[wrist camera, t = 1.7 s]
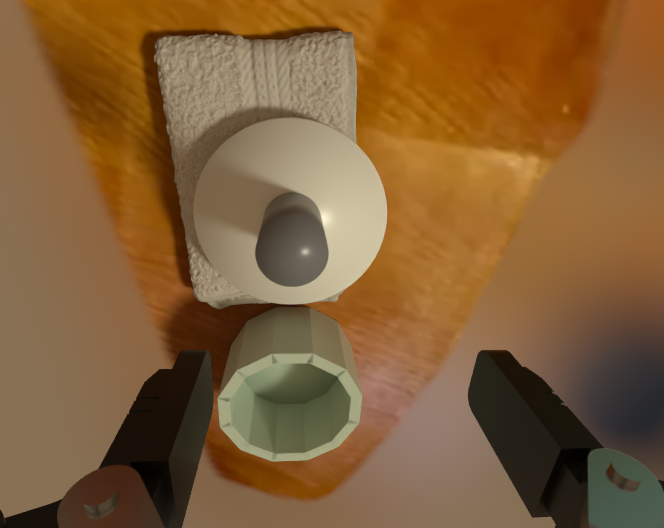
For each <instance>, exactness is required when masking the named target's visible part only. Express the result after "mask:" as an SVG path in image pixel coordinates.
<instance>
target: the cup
mask: <svg viewBox="0 0 664 528" xmlns="http://www.w3.org/2000/svg"><path fill="white" fill-rule="evenodd" d="M361 403H362V391H361V387H360V383H359V378H358V374H357V369H356V365H355V361H354V356H353V352H352V347H351V344H350V342H349V341H348V339H347V337H346V335H345V334H344V332H343V330H342V329H341V327H340V325H339V324H338V322H337V321H335V320H334V319H332V318H330V317H328V316H326V315H324V314H322V313H320V312H318V311H316V310H314V309H312V308H310V307H275V308H273V309H271V310H269V311H267V312H264V313H262V314H260V315H258V316H256V317H254V318H252V319H250V320H248V321H247V322H246V323H245V325H244V326H243V328H242V329H241V331H240V332H239V334H238V335H237V337H236V338H235V340H234V341H233V343H232V344H231V348H230V352H229V356H228V360H227V363H226V367H225V371H224V375H223V379H222V383H221V387H220V391H219V395H218V408H219V421H220V428H221V429H222V430H223V431H224V432H225V433H226V434H227V435H228V437H229V438H230V439H231V440H232V441H233V442H234V443H235V444H236V445H237V447H238V448H239V449H240V450H242V451H245V452H248V453H250V454H253V455H256V456H259V457H262V458H264V459H267V460H270V461H297V460H309V459H311V458H314V457H316V456H318V455H320V454H323V453H325V452H327V451H330V450H332V449H334V448H337V447H339V446H340V445H341V443H342V442H343V441H344V440H345V439H346V438H347V437H348V435H349V434H350V433H351V432H352V431H353V430H354V429H355V427H356V426H357V425H358V424H359V419H360V411H361Z"/></svg>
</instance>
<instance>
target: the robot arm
mask: <svg viewBox="0 0 664 528" xmlns="http://www.w3.org/2000/svg"><path fill="white" fill-rule="evenodd" d="M213 397H214V394H213V380H212V368H211V356H210V352H209V350H182V351H181V352H180V353H179V355H178V357H177V359H176V362H175V364H174V366H173V368H172V369H159V370H158V371H157V372H156V373H155V374H153V375H152V376H151V377H150V378H149V379H148V380H147V381H146V382H144V384H143V386H142V388H141V390H140V392H139V394H138V396H137V397H136V401H134V403H133V405H132V407H131V409H130V411H129V414H127V416H126V418H125V420H124V422H123V424H122V426H121V428H120V429H119V431H118V433H117V435H116V437H115V439H114V441H113V443H112V444H111V446H110V448H109V450H108V452H107V454H106V456H105V458H104V460H103V461H102V463H101V465H100V467H99V468H98V470H95V471H93V472H91V473H89V474H88V475H86V476H84V477H83V478H82V479H80V480H79V481H78V482H76V483H75V485H73V486H72V487H71V488H70V489H69V490H68V492H67V493H66V494H65V496H64V497H63V499H61V500H59V501H57V502H54V503H51V504H48V505H45V506H42V507H39V508H36V509H32V510H29V511H26V512H23V513H20V514H17V515H13V516H10V517H7V518H4V516H3V513H2V512H1V510H0V528H182V525H183V521H184V517H185V514H186V510H187V506H188V502H189V498H190V495H191V491H192V487H193V483H194V479H195V476H196V472H197V468H198V464H199V461H200V457H201V453H202V449H203V445H204V442H205V438H206V434H207V430H208V427H209V423H210V419H211V415H212V409H213ZM468 401H469V405H470V408H471V410H472V412H473V414H474V416H475V418H476V419H477V421H478V423H479V425H480V427H481V428H482V430H483V432H484V434H485V435H486V437H487V439H488V441H489V442H490V444H491V446H492V448H493V450H494V451H495V453H496V455H497V456H498V458H499V460H500V462H501V463H502V465H503V467H504V469H505V470H506V472H507V474H508V476H509V478H510V479H511V481H512V483H513V485H514V486H515V488H516V490H517V492H518V493H519V495H520V497H521V499H522V500H523V502H524V504H525V506H526V508H527V509H528V511H529V513H530V514H531V516H532V518H533V517H552V519H553V520H554V522H555V524H556V526H555V528H664V481H661V480H657V478H656V477H655V476H654V475H653V474H652V473H651V472H650V471H649V470H648V469H647V468H646V467H645V466H643V465H642V464H641V463H639V462H638V461H636V460H635V459H633V458H631V457H630V456H628V455H626V454H623V453H621V452H618V451H616V450H611V449H606V448H604V447H603V446H602V445H601V444H600V443H599V442H598V441H597V439H595V437H594V436H593V435H592V434H591V433H590V432H589V431H588V430H587V428H586V427H585V426H584V425H583V424H582V423H581V422H580V421H579V419H578V418H577V417H576V416H575V415H574V414H573V412H572V411H571V410H570V409H569V408H568V407H567V406H565V405H564V402H563V401H562V400H561V399H560V398H559V397H558V396H557V395H555V394H554V391H553V390H552V389H551V388H550V387H549V386H548V384H547V383H546V382H545V381H544V380H543V379H542V378H541V377H539V376H538V375H536V374H535V373H534V372H532V371H531V370H529V369H528V368H526V367H522V366H521V365H520V364H519V362H518V361H517V360H516V359H515V358H514V357H513V355H512V354H511V353H510V352H509V351H507V350H482V351H480V352H479V353H478V355H477V359H476V363H475V367H474V370H473V375H472V378H471V382H470V386H469V390H468Z"/></svg>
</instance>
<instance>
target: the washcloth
mask: <svg viewBox="0 0 664 528" xmlns="http://www.w3.org/2000/svg"><path fill="white" fill-rule="evenodd" d="M155 49H156V50H155V51H156V54H155V55H154V62H156V63H157V64H158V68H157V72H158V78H159V85H160V88H161V93H162V98H163V101H164V103H163V111H164V114H165V116H166V119H167V123H166V129H167V133H168V135H169V138H170V145H171V148H172V155H171V157H172V159H173V162H174V166H175V172H174V173H175V176H174V182H175V183H176V184H177V189H178V195H179V197H180V200H179V204H180V206H181V213H180V214H181V218H182V222H183V224H184V228H185V241H186V246H187V248H188V250H187V251H188V254H189V256H188V260H189V264H190V269H189V272H190V273H191V281H192V282H193V293H195V297H196V298H197V300H198V301H201V302H207V303H208V304H209V305H211V306H213V307H215V308H217V309H223V308H224V307H228V306H230V305H239V304H249V303H254V304H256V303H258V304H261V303H272V302H267V301H264V300H261V299H257V298H255V297H253V296H250V295H248V294H246V293H244V292H242V291H241V290H239V289H237V288H236V287H234V286H233V285H232V284H230V283H229V282H228V281H226V280H225V279H224V278H223V277H222V276H221V275H220V274H219V273H218V272H217V271H216V269H215V268H214V267H213V266H212V264H211V263H210V262H209V260H208V258H207V257H206V255H205V254H204V252H203V249H202V247H201V245H200V243H199V240H198V237H197V233H196V230H195V224H194V213H193V204H194V196H195V190H196V187H197V183H198V180H199V177H200V175H201V173H202V171H203V168H204V167H205V165H206V164H207V162H208V160H209V159H210V157H211V156H212V155H213V154H214V152H215V151H216V150H217V149H218V148H219V147H220V146H221V145H222V144H223V143H224V142H225V141H226V140H228V139H229V138H230V137H232V136H233V135H235V134H236V133H238V132H239V131H241V130H242V129H244V128H246V127H249V126H251V125H253V124H255V123H258V122H262V121H265V120H268V119H275V118H291V117H295V118H303V119H309V120H313V121H316V122H320V123H323V124H325V125H327V126H330V127H332V128H334V129H336V130H337V131H339V132H340V133H342V134H344V135H345V136H347V137H348V138H349V139H350V140H351V141H353V142H354V143H355V144H356V98H357V84H356V77H357V72H356V59H355V53H354V38H353V35H352V32H347V33H344V32H342V31H340V30H339V31H332V32H324V33H319V32H313V33H306V34H302V35H299V36H292V37H289V38H288V39H281V40H273V39H266V40H262V39H254V40H249V39H244V38H243V37H242V36H240V35H234V36H232V35H217V34H216V33H215V34H214V35H210V34H203V35H192V36H188V37H187V36H180V35H177V36H170V35H166V36H163V37H161V38H159V39H157V41H156V43H155ZM343 291H344V290H343ZM343 291H341V292H339V293H337V294H335V295H333V296H331V297H328V298H326V299H323V300H319V301H333V302H334V301H337V300H338V295H340V294H342V293H343ZM316 302H317V301H316Z"/></svg>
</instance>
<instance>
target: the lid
mask: <svg viewBox="0 0 664 528" xmlns="http://www.w3.org/2000/svg"><path fill="white" fill-rule="evenodd" d="M193 213H194V224H195V230H196V233H197V237H198V240H199V243H200V245H201V247H202V249H203V252H204V254H205V255H206V257H207V258H208V260H209V262H210V263H211V264H212V266H213V267H214V268H215V269H216V271H217V272H218V273H219V274H220V275H221V276H222V277H223V278H224V279H225V280H226V281H228V282H229V283H230V284H232V285H233V286H234V287H236V288H237V289H239V290H241V291H242V292H244V293H246V294H248V295H250V296H253V297H255V298H257V299H261V300H264V301H267V302H272V303H278V304H290V305H291V304H305V303H312V302H316V301H319V300H323V299H326V298H328V297H331V296H333V295H335V294H337V293H339V292H341V291H343V290H344V289H346V288H347V287H349V286H350V285H351V284H353V283H354V282H355V281H356V280H357V279H358V278H359V277H360V276H362V274H363V273H364V272H365V271H366V270H367V269H368V267H369V266H370V265H371V263H372V262H373V260H374V259H375V257H376V255H377V253H378V251H379V249H380V247H381V244H382V241H383V238H384V234H385V229H386V223H387V204H386V197H385V192H384V188H383V185H382V182H381V179H380V177H379V175H378V173H377V171H376V169H375V167H374V165H373V164H372V162H371V161H370V159H369V158H368V157H367V155H366V154H365V153H364V152H363V151H362V150H361V149H360V148H359V147H358V145H356V144H355V143H354V142H353V141H351V140H350V139H349V138H348V137H347V136H345V135H344V134H342V133H340V132H339V131H337V130H336V129H334V128H332V127H330V126H327V125H325V124H323V123H320V122H316V121H313V120H309V119H303V118H295V117H291V118H275V119H268V120H265V121H262V122H258V123H255V124H253V125H251V126H249V127H246V128H244V129H242V130H241V131H239V132H238V133H236V134H235V135H233V136H232V137H230V138H229V139H228V140H226V141H225V142H224V143H223V144H222V145H221V146H220V147H219V148H218V149H217V150H216V151H215V152H214V154H213V155H212V156H211V157H210V159H209V160H208V162H207V164H206V165H205V167H204V168H203V171H202V173H201V175H200V177H199V180H198V183H197V187H196V190H195V196H194V204H193Z"/></svg>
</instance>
